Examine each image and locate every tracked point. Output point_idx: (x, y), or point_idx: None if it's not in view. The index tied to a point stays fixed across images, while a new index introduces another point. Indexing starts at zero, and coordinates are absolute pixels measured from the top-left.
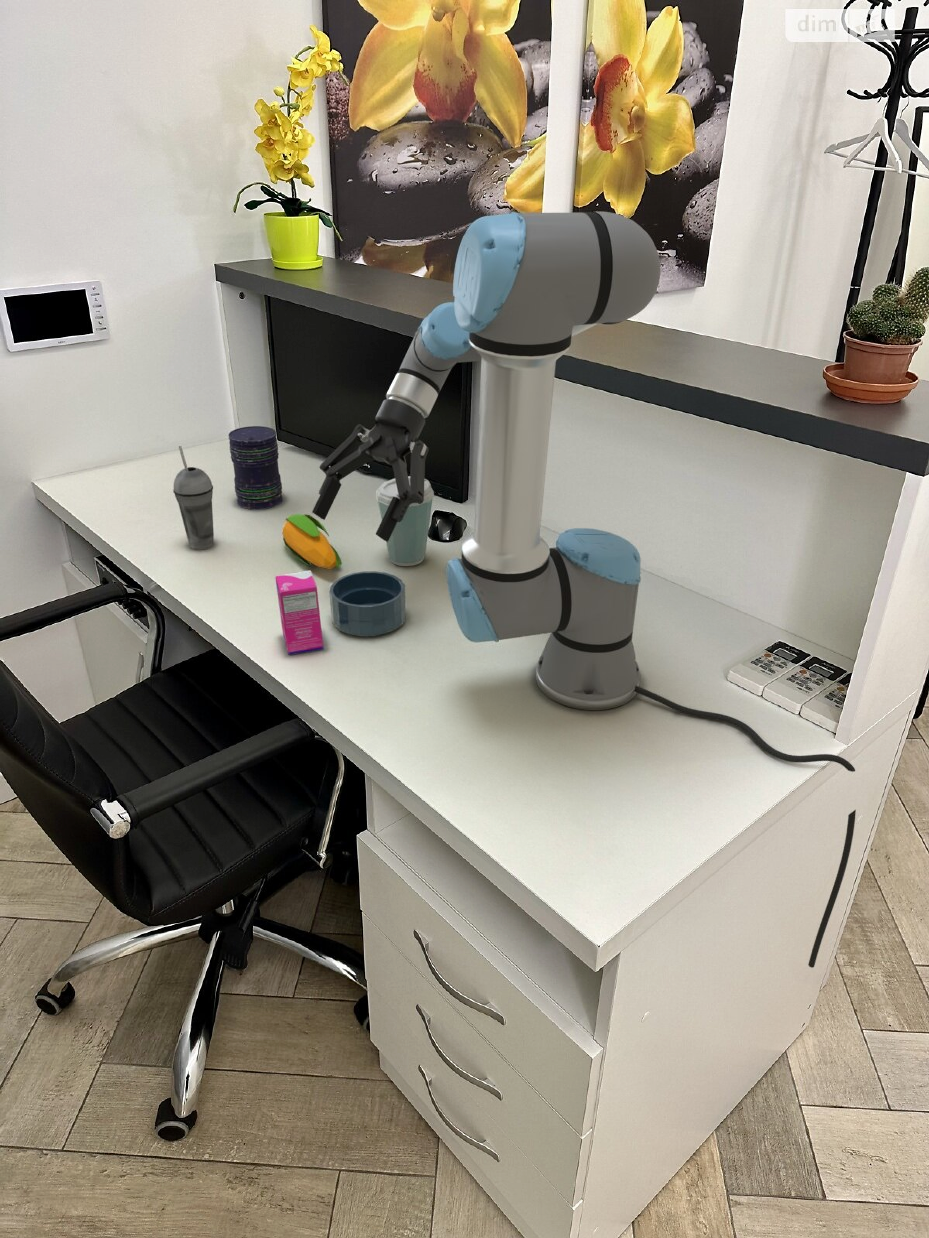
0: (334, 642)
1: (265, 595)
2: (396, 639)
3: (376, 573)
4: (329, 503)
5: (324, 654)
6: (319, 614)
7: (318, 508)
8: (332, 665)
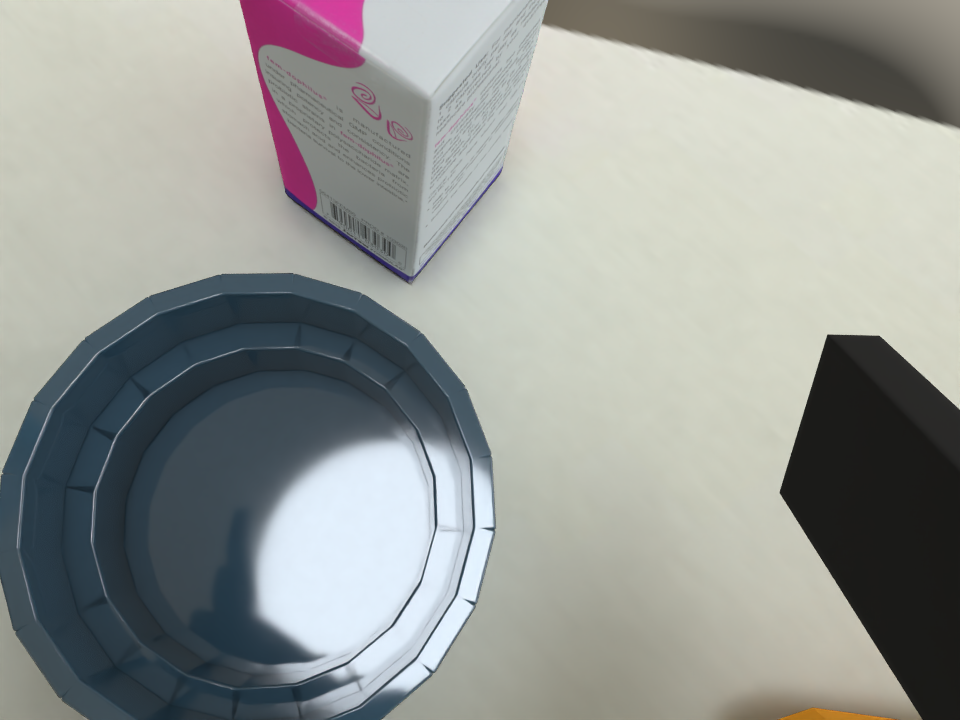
0: (288, 265)
1: None
2: None
3: (344, 710)
4: (884, 592)
5: (258, 170)
6: (261, 87)
7: (857, 383)
8: (169, 127)
